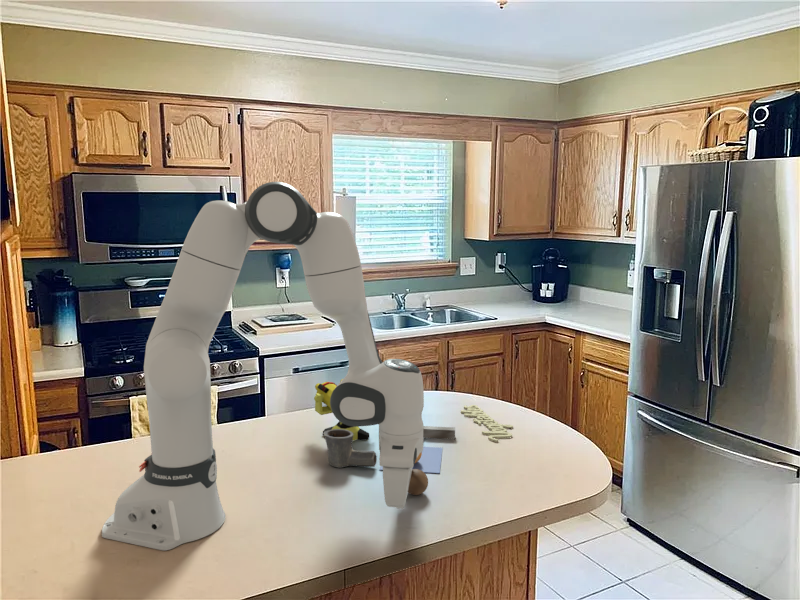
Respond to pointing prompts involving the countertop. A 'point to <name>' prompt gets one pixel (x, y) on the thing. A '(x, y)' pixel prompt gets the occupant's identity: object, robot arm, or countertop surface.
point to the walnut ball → (417, 482)
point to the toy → (324, 396)
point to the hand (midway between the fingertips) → (400, 505)
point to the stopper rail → (439, 432)
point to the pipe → (346, 450)
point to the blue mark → (429, 460)
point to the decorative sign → (487, 423)
